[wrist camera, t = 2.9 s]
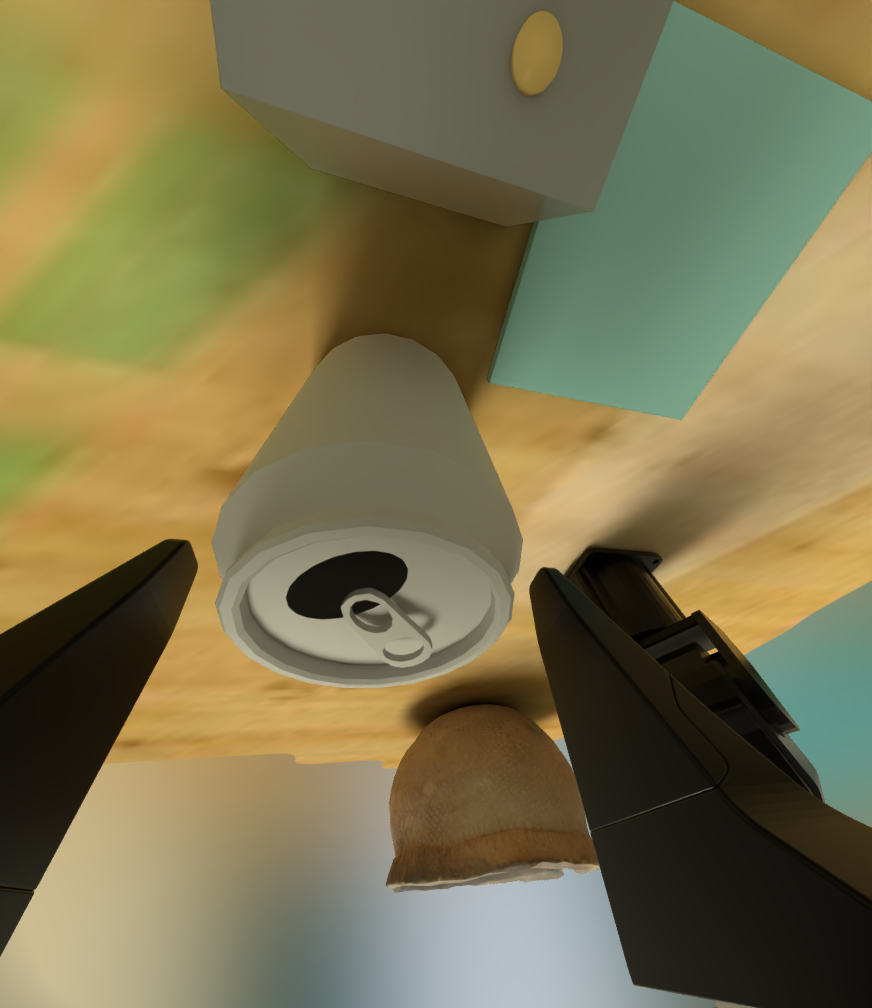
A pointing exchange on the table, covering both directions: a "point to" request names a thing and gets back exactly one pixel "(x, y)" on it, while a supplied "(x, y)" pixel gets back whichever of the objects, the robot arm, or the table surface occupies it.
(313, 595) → the can
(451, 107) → the unit
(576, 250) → the mat
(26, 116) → the table surface
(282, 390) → the table surface
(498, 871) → the ceramic bowl
